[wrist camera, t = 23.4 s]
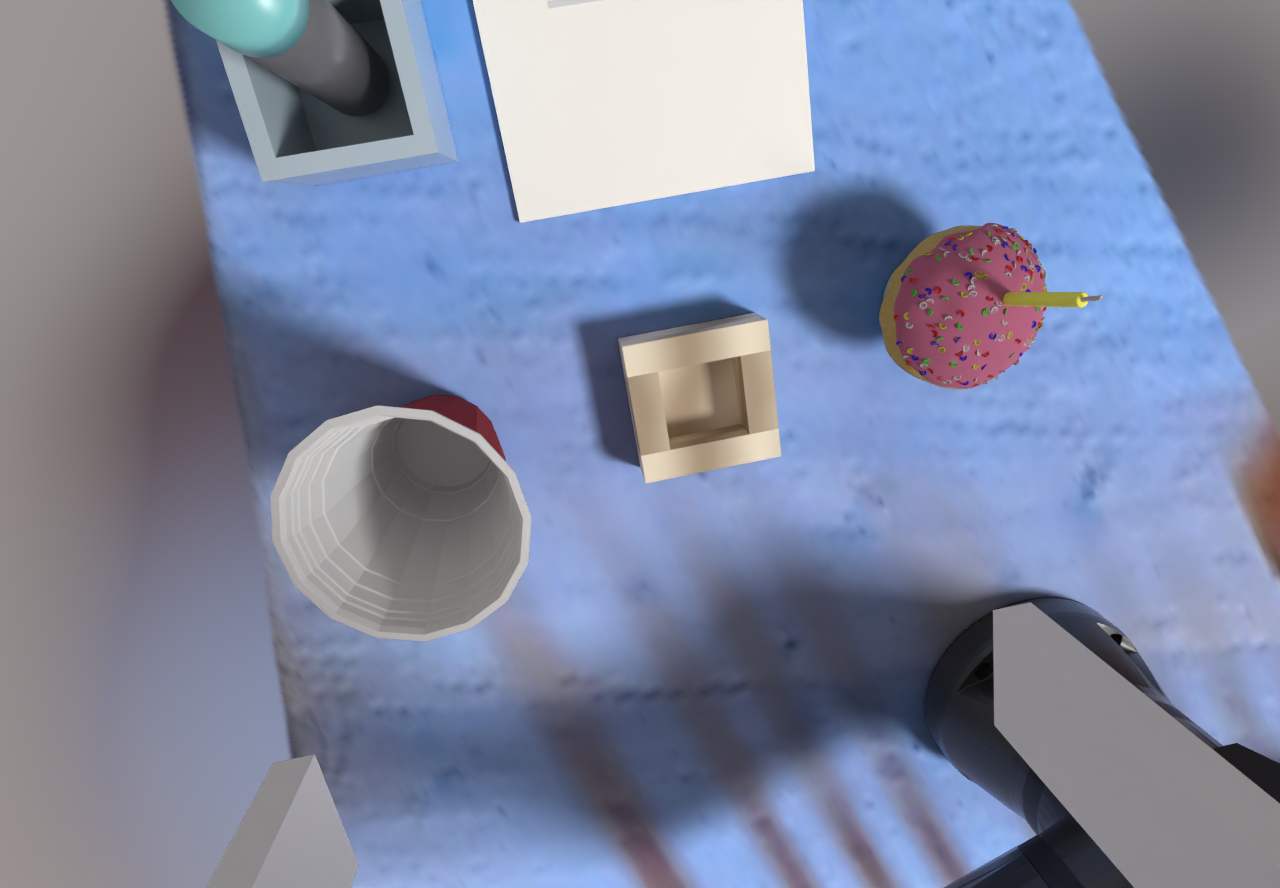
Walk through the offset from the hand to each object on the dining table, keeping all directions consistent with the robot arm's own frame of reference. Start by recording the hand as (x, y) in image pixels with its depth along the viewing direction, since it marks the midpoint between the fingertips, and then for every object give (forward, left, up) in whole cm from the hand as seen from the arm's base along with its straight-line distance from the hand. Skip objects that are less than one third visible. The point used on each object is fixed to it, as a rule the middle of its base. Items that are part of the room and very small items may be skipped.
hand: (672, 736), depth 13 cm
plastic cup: (+9, +2, -29) cm, 30 cm away
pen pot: (+8, -16, -28) cm, 34 cm away
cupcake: (-20, -1, -29) cm, 35 cm away
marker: (+8, -17, -27) cm, 33 cm away
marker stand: (-6, +2, -28) cm, 29 cm away
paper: (-6, -16, -28) cm, 33 cm away
